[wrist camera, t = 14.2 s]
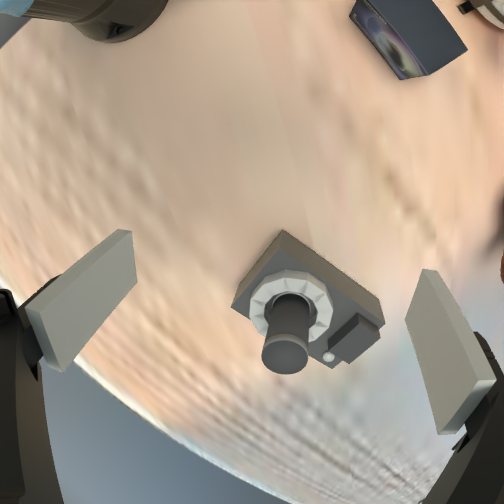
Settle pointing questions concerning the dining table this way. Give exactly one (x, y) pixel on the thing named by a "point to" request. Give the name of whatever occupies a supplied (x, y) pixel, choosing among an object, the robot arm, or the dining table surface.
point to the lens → (287, 334)
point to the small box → (409, 35)
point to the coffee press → (487, 10)
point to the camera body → (312, 300)
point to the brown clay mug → (502, 268)
